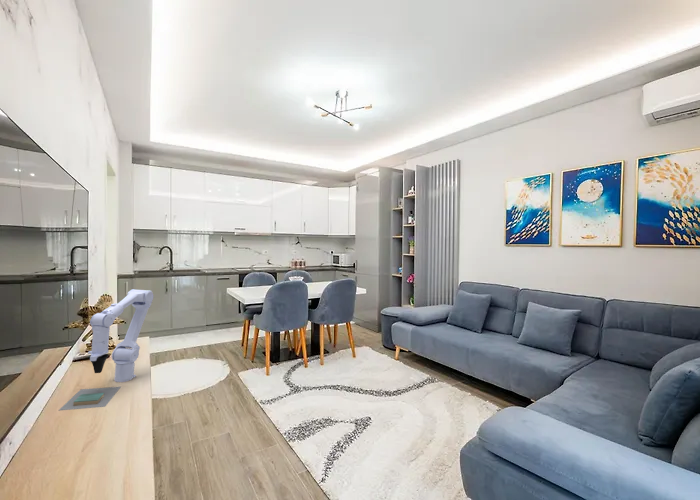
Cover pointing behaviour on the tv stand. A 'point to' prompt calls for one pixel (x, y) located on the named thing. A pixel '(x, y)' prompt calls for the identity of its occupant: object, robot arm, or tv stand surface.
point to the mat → (104, 401)
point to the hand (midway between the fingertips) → (98, 372)
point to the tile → (88, 399)
